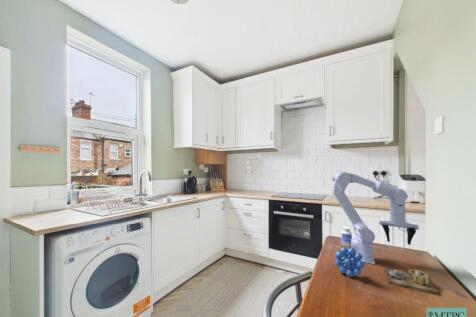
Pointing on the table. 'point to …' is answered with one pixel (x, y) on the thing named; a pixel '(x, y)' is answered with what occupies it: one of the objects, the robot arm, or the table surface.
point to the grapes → (349, 261)
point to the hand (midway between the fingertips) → (398, 242)
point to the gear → (418, 277)
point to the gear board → (408, 281)
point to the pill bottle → (346, 236)
